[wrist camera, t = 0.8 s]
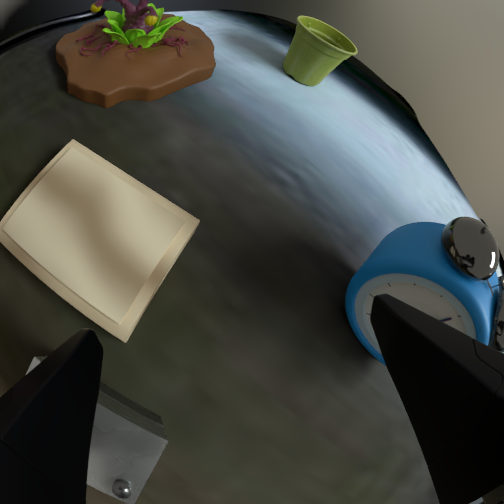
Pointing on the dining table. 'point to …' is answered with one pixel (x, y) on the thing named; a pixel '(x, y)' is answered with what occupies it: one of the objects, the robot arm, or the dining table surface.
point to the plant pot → (316, 51)
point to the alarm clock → (433, 279)
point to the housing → (121, 444)
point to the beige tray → (96, 237)
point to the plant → (134, 55)
